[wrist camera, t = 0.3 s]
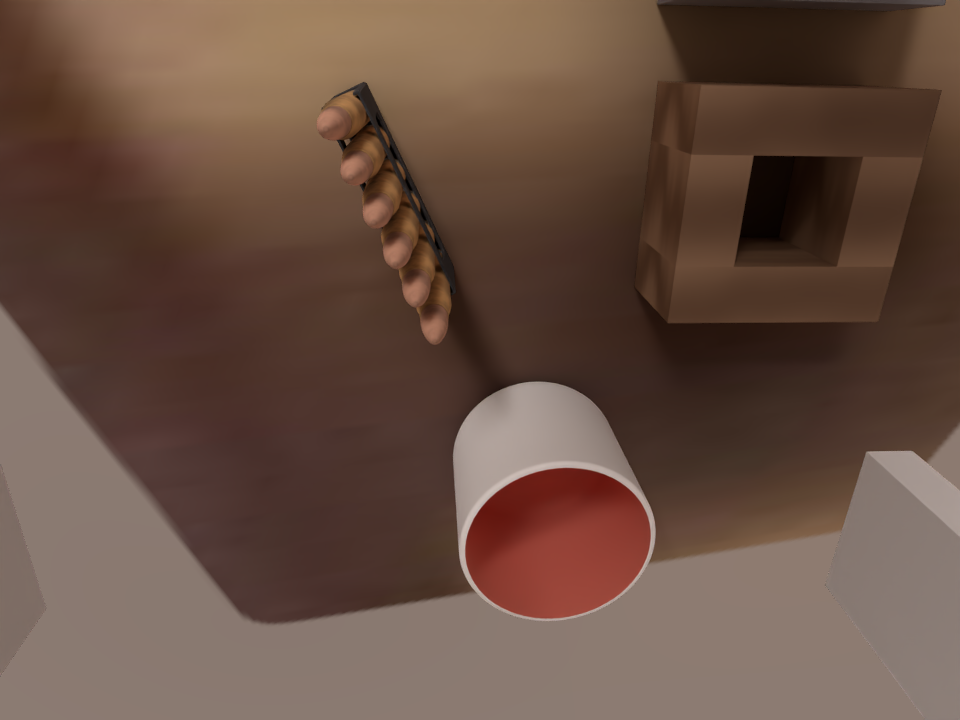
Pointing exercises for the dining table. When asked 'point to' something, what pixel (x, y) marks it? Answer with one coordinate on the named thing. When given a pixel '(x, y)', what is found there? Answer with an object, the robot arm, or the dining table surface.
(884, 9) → the socket block
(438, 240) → the ammunition clip
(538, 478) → the cup
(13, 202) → the dining table surface
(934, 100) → the frame
